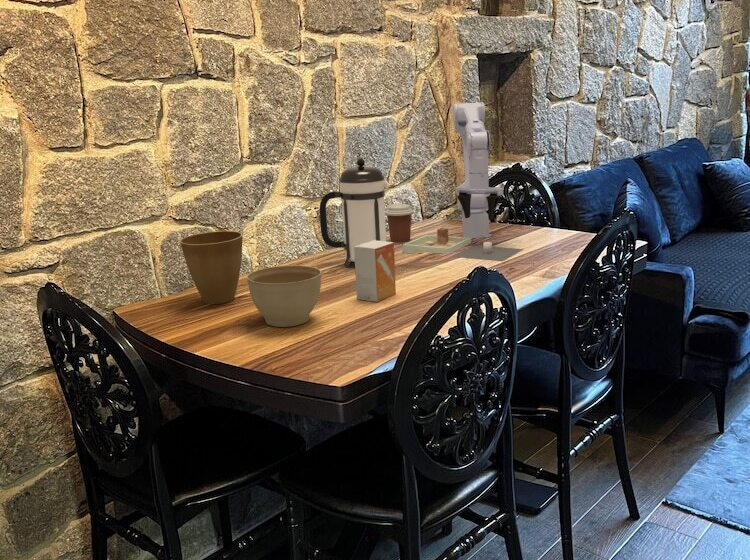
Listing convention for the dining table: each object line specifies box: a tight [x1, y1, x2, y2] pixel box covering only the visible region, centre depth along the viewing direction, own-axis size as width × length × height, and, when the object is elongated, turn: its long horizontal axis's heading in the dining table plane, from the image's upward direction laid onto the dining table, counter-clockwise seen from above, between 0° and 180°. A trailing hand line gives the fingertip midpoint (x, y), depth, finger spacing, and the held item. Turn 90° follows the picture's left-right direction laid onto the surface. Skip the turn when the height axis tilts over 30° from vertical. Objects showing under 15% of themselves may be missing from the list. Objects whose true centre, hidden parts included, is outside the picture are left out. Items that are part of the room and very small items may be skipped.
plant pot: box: [179, 230, 243, 305], centre depth 175 cm, size 15×15×16 cm
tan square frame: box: [419, 227, 459, 248], centre depth 220 cm, size 10×10×5 cm
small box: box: [354, 240, 397, 303], centre depth 172 cm, size 8×6×13 cm
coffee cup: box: [385, 203, 414, 246], centre depth 231 cm, size 9×9×12 cm
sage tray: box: [401, 234, 472, 255], centre depth 220 cm, size 16×16×2 cm
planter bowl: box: [246, 265, 322, 328], centre depth 157 cm, size 16×16×11 cm
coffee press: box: [319, 158, 391, 269], centre depth 203 cm, size 17×16×30 cm
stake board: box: [450, 241, 524, 262], centre depth 208 cm, size 16×16×4 cm
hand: (479, 218), depth 216 cm, fingers open, 7 cm apart
